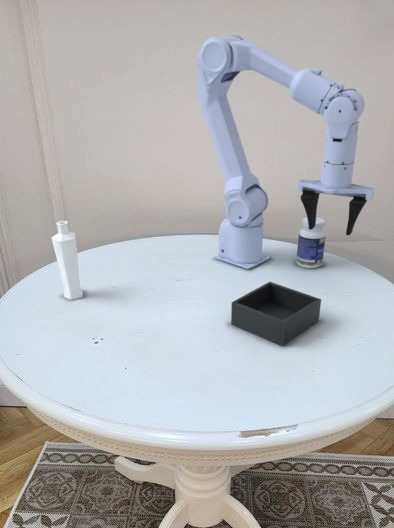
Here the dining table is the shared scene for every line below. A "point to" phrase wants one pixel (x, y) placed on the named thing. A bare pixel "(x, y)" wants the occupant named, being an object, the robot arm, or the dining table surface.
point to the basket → (275, 312)
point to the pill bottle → (311, 244)
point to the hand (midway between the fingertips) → (330, 230)
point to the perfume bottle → (67, 260)
